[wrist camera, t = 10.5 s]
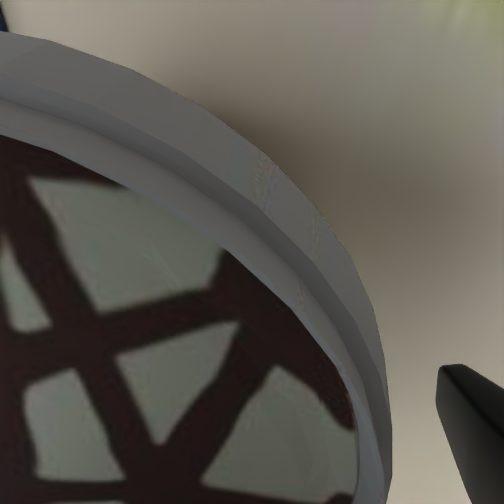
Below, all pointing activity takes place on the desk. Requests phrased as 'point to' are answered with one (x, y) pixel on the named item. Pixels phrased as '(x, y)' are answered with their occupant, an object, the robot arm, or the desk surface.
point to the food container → (170, 306)
